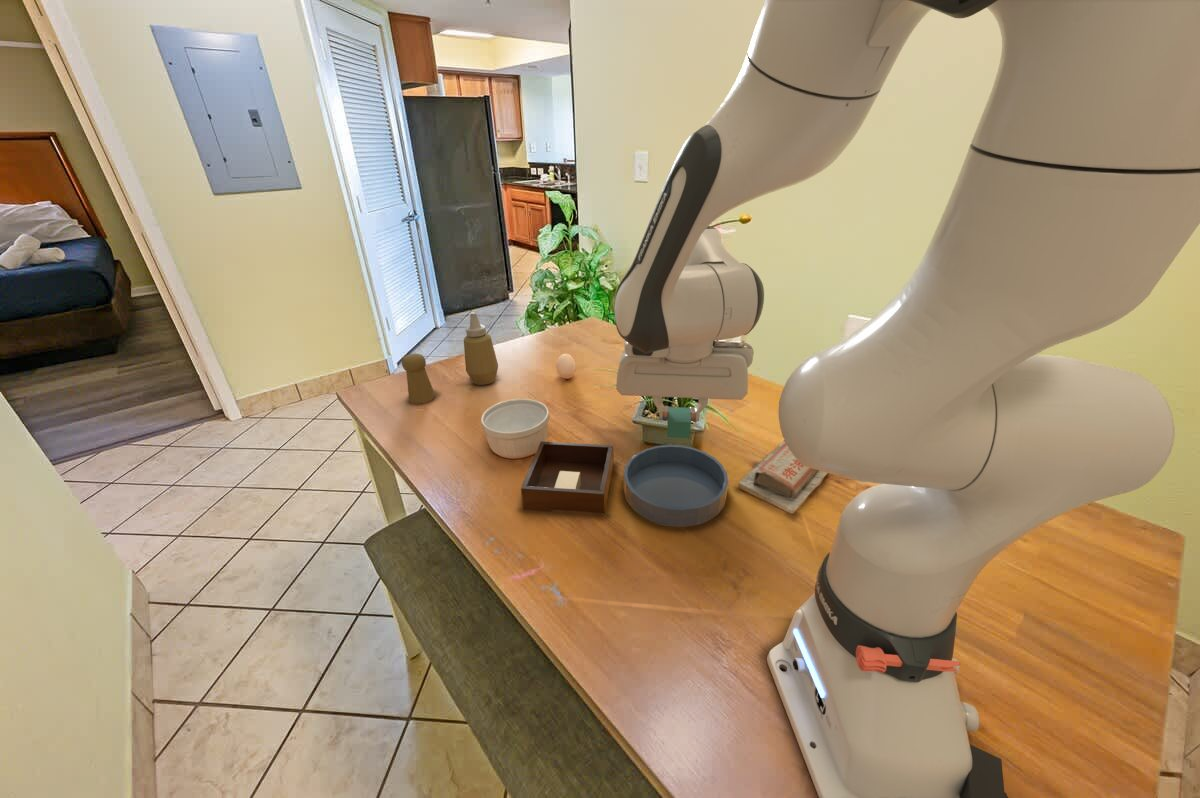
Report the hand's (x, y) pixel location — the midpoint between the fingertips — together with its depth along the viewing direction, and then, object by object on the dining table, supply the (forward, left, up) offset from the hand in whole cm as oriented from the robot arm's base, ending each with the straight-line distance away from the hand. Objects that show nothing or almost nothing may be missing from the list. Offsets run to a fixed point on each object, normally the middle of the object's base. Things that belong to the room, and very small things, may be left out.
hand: (678, 418), depth 77 cm
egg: (+39, +27, -13) cm, 50 cm away
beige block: (-5, +18, -13) cm, 23 cm away
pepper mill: (+26, +60, -13) cm, 67 cm away
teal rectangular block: (0, 0, -2) cm, 2 cm away
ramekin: (+9, +31, -13) cm, 35 cm away
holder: (-3, +18, -13) cm, 23 cm away
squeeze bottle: (+36, +48, -13) cm, 62 cm away
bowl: (-3, 0, -13) cm, 14 cm away
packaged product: (+3, -20, -13) cm, 24 cm away
